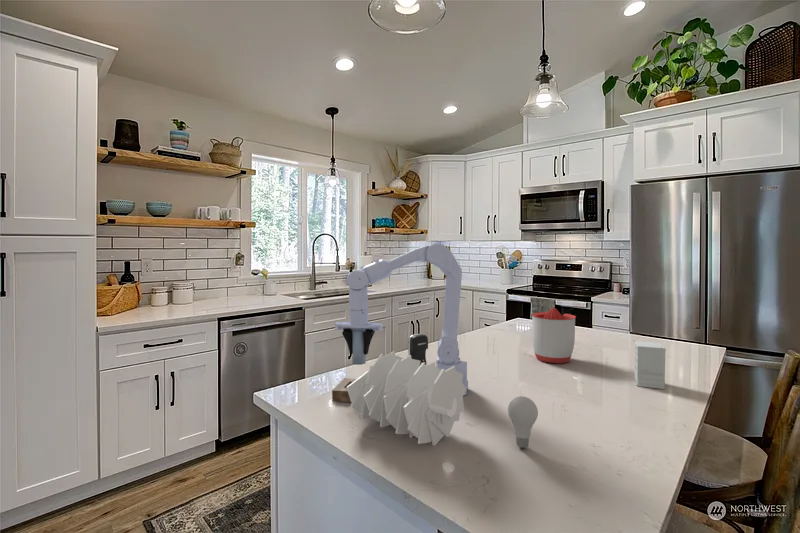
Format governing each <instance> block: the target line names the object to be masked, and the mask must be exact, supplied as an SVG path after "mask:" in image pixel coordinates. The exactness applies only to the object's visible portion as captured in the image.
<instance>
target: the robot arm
mask: <svg viewBox="0 0 800 533" xmlns="http://www.w3.org/2000/svg"><path fill="white" fill-rule="evenodd" d="M427 261H428V262H429V264H431V265H433V266H435V267H437V268H439V269H440V271H441V273H443V274H444V275H445V276H446V278H445V291H444V301H443V303H444V305H443V318H442V329H441V336H440V338H439V340H438V342H437V352H436V353H437V357H436V359H435V366H436V367H437V368H438V369H440V370H442V369H445V370H447V369H449V368H451V367H453V366H455V369H456V371H457V372H459V373H462V374H463V378H462V382H463V384H464V386H465V388H466V392H465V394H464V395H463V396H466V395H467V392H468V390H467V389H468V387H469V380H468V361H465V360H464V361H463V360H461V358H460V357H459V356H460V348H459V341H458V328H459V327H458V326H459V325H458V324H459V314H460V302H461V292H462V291H461V289H462V276H463V271H462V268H461V266H460V264H459V263H458V261H457V259H456V257H455V255H454V254H453V251H451V250H450V249H449V248H448V247H447V246H445V245H444V244H443V243H439V242H436V243H435V242H434V243H433V244H430V245H425V246H421V247H417V248H414V249H412V250H410V251H408V252H406V253H403V254H401V255H399V256H397V257H395V258H392V259H390V260H386V259H383V258H382V259H379V258H376V259H374V262H373V263H370V264H367V265H361V266H360V267H359V268H360V269H354V270H352V271H350V273H348V275H347V277H346V282H347V283H346V284H347V285H348V291H349V293H348V314H349V315H348V318H349V319H348V321H344V322H335V323H334V329H335V330H337V331H338V330H342V333H341V334H342V336H343V338H344V340H345V341H346V345H347V348H348V351H349V354H350V355H352V330H365V332H363V337H364V355H368V354H369V351H370V350H369V349H370V346H371V345H370V344H371V342H372V339H373V337H374V334H375V333H376V331H377V332H383V328H384V327H383V323H377V322H376V323H374V322H369V298H368V297H369V295H368V286H369V285H373V284H375V283H378V282H380V281H382V280H385V279H388V278H389V277H391V274H392V272H393V271H395V270H398V269H399V268H403V267H405V266H407V265H411V264H413V263H415V262H422V263H426V262H427Z"/></svg>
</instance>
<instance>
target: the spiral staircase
mask: <svg viewBox="0 0 800 533" xmlns="http://www.w3.org/2000/svg"><path fill="white" fill-rule="evenodd" d="M462 378H463V374H462V373H459V372H457V371H456V369H455V366H453V367H451V368H449V369H447V370H445V369H442V370H440V369H438V368H437V367H436V361H432V362H429V363H427V364H426V365H425V363H422V364H421V365H420V361H419V360H415V359H412V358H411V355H409V354H408V355H407V356H405V357H401V356H398V355H396V352H395V351H391V352H388V353H386V354H383V353H380V354H379V356H378V357H377V358H376V360H375V361H374V363H373V364H372V365H370V366H369V369H368V370H367V371H366V372H364V373H363V374H362V375H360V376H359V377H357V378H355V379H356V380H355V381H354V382H352V383H351V384H350V385H348V386H347V390H348V394H349V397H350V400H351V402H350V403H351V404H350V405H349V406H350V407H351V409H353V410H355V411H356V412H357V413H358V414H359V415H360V419H361V420H365V419H366V420H367V419H374V420H375V422H379V428H383V427H388V426H392V428H394V429H395V432H394V433H395V434H397V435H408V434H409V435H408V436H409V438H410V439H412V438H413V437H415V438H416V439H417V444H418V445H421V444H422V445H423V444H427V443H431V444H432V446H433V447H436V445H437V444H438V443H439V442H440V441H441V440H442V439H443V437H444V436H445V438H449V437H450V433H451V431H452V428H453V425H454V424H455V422H459V421H460V416H461V413H462V412H463V411H465V408H464V407H465V406H464V396H465V395H464V394H465V392H466V388H465V386H464V384H463V382H462Z"/></svg>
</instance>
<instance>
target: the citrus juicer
mask: <svg viewBox="0 0 800 533" xmlns="http://www.w3.org/2000/svg"><path fill="white" fill-rule="evenodd" d="M531 316H532V317H531V319H532V320H531V321H532V324H531V327H532V328H531V339H532V340H531V341H532V348H533V352H534V355H535V357H536V359H537V360H538V361H540V362H545V363H552V364H558V363H559V364H558V365H563V364H564V363H565V364H566V363H568V362H570V360H571V358H572V355H573V351H574V349H575V348H574V347H575V343H576V342H575V340H576V339H575V338H576V337H575V336H576V318H577V316H576V315H573V314H571V313H564V314H563V315H562V314H561V313H560V311H559V310H558V308H555V306H554V307H551V308H550V309H549V310H548V311H542V312H541V311H540V312H533V313H531Z"/></svg>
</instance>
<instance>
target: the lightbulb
mask: <svg viewBox="0 0 800 533" xmlns="http://www.w3.org/2000/svg"><path fill="white" fill-rule="evenodd" d="M507 413H508V417H509V419H510V421H511V423H512V425H513V429H514V435H515V440H516V444H515V445H516V446H517V447H519V448H521V449H525V448H528V447H529V443H530V442H529V441H530V437H531V431H532V429H533V426H534V425H535V423H536V421H537V420H538V415H539V409H538V407H537V405H536V403H535V402H534V401H533V400H532V399H531V398H529V397H526V396H524V395H523V396H522V395H521V396H516V397H515V398H513V399H511V401H510V402H509V404H508V407H507Z"/></svg>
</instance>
